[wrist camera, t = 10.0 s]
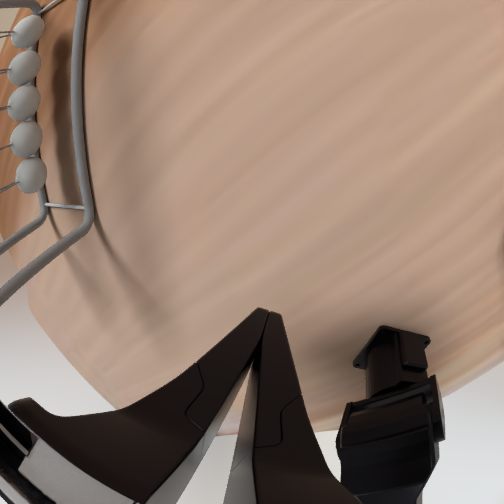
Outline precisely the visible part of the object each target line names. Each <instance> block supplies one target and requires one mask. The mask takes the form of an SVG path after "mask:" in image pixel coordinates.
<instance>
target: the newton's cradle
mask: <svg viewBox="0 0 504 504" xmlns="http://www.w3.org/2000/svg"><path fill="white" fill-rule="evenodd" d="M57 1H59V0H54V1H53V2H52V3H50V4H49V5H47V6H46V7H45V8H43V9H42V10H41V6H40V4H39V3H38V2H37V1H35V0H0V8H15V7H16V8H18V7H27V8H30V9H31V10H32V11H33V15H32V16H28V17H26V18H24V19H22V20H21V21H20V22H19V23H18V24H17V25H16V26H15V28H14V30H13V31H5V32H0V33H11V34H9V35H5V36H1V37H0V38H2V37H7V36H11V40H12V43H13V45H14V46H15V47H17V48H20V49H24V48H28V51H24V52H21V53H20V54H18V55H17V56H16V57H15V58H14V59H13V60H12V62H11V64H10V66H9V68H8V69H2V70H0V71H5V72H1V73H0V74H3V73H7V72H8V78H9V80H10V82H11V83H12V84H14V85H17V86H21V85H24V86H21V87H19V88H18V89H16V90H15V91H14V92H13V94H12V95H11V97H10V99H9V102H8V105H7V106H5V107H1V108H0V111H1V110H4V109H8V113H9V115H10V117H11V118H12V119H13V120H16V121H24V122H22V123H21V124H19V125H18V126H17V127H16V128H15V129H14V131H13V133H12V135H11V139H10V144H9V145H7V146H4V147H2V148H0V150H2V149H4V148H6V147H9V146H10V147H11V149H12V152H13V153H14V154H15V155H16V156H18V157H21V158H26V157H29V156H31V157H29V158H27V159H25V160H23V161H22V162H21V163H20V165H19V166H18V168H17V171H16V181H15V182H13V183H11V184H9V185H7V186H5V187H3V188H1V189H0V190H2V189H4V188H5V189H4V190H2V191H0V193H2V192H3V191H5V190H7V189H8V188H10V187H12V186H14V185H15V184H17V186H18V188H19V189H20V190H21V191H22V192H24V193H29V194H30V193H35V192H37V194H38V198H39V203H40V214H39V216H38V218H36V219H35V220H34V221H32V222H31V223H29V224H28V225H26V226H24V227H23V228H22V229H20V230H19V231H17V232H16V233H14V234H13V235H11V236H10V237H8V238H7V239H6V240H4V241H3V242H2V243H0V255H1V254H2V253H4V252H5V251H6V250H8V249H9V248H10V247H12V246H13V245H14V244H16V243H17V242H19V241H20V240H21V239H23V238H24V237H26V236H27V235H28V234H30V233H31V232H33V231H34V230H36V229H37V228H39V227H40V226H41V225H42V224H43V223H44V221H45V220H46V217H47V214H48V206H52V207H63V208H73V209H82V210H84V219H83V222H82V224H81V225H80V226H79V227H78V228H76V229H75V230H73V231H72V232H70V233H69V234H68V235H66V236H65V237H63V238H62V239H61V240H59V241H58V242H57V243H55V244H54V245H52V246H51V247H50V248H48V249H47V250H46V251H45V252H43V253H42V254H41V255H39V256H38V257H37V258H35V259H34V260H33V261H32V262H30V263H29V264H28V265H27V266H26V267H24V268H23V269H22V270H21V271H20V272H18V273H17V274H16V275H15V276H14V277H13V278H11V279H10V280H9V281H8V282H7V283H6V284H4V285H3V286H2V287H1V288H0V306H1V305H2V304H3V303H4V302H5V301H6V300H7V299H9V297H11V296H12V295H13V294H14V293H15V292H16V291H17V290H18V289H19V288H20V287H21V286H23V285H24V284H25V283H26V282H27V281H28V280H29V279H31V278H32V277H33V276H34V275H35V274H36V273H38V272H39V271H40V270H41V269H42V268H44V267H45V266H46V265H47V264H48V263H50V262H51V261H52V260H53V259H55V258H56V257H57V256H58V255H60V254H61V253H62V252H63V251H65V250H66V249H67V248H69V247H70V246H71V245H73V244H74V243H75V242H77V241H78V240H79V239H81V238H82V237H83V236H85V235H86V234H87V233H88V231H89V230H90V228H91V226H92V223H93V220H94V205H93V200H92V194H91V188H90V182H89V176H88V169H87V161H86V152H85V143H84V131H83V116H82V55H83V41H84V30H85V21H86V14H87V7H88V1H89V0H78V4H77V10H76V17H75V25H74V33H73V44H72V59H71V113H72V129H73V140H74V150H75V158H76V166H77V173H78V179H79V185H80V191H81V197H82V202H83V206H79V205H68V204H56V203H48V202H47V197H46V193H45V188H44V183H45V181H46V178H47V168H46V165H45V163H44V162H43V161H42V160H41V159H40V158H39V151H38V148H39V147H40V145H41V142H42V130H41V128H40V126H39V125H38V124H37V123H36V119H35V112H36V111H37V109H38V107H39V104H40V93H39V91H38V89H37V88H36V87H35V77H36V75H37V74H38V72H39V70H40V66H41V59H40V56H39V55H38V53H36V48H37V41H38V40H39V39H40V37H41V36H42V34H43V31H44V21H43V19H42V18H41V13H42V12H43V11H45V10H46V9H47V8H49V7H50V6H52V5H53V4H54V3H56V2H57ZM6 70H7V71H6ZM25 84H26V85H25ZM25 120H27V121H25ZM10 185H11V186H10ZM8 186H9V187H8ZM6 187H7V188H6Z"/></svg>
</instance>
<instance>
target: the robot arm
mask: <svg viewBox="0 0 504 504" xmlns="http://www.w3.org/2000/svg"><path fill="white" fill-rule="evenodd" d="M382 330H384V331H382ZM430 342H431V340H430V337H428V336H424V335H420V334H416V333H412V332H408V331H404V330H400V329H397V328H393V327H389V326H385V325H383V326H380V327H379V328H378V329H377V331H376V332H375V333H374V335H373V336H372V338H371V339H370V340H369V342H368V343H367V344H366V346H365V347H364V348H363V350H362V351H361V352H360V354H359V355H358V356H357V358H356V359H355V360H354V362H353V366H354V367H356V368H360V369H365V370H366V399H364V400H361V401H357V402H349V403H347V404H346V408H345V411H344V414H343V418H342V421H341V425H340V428H339V431H338V434H337V437H336V449H337V454H338V457H339V459H340V461H341V482H339V481H338V480H337V479H336V478H335V477H334V476H333V474H332V473H331V471H330V470H329V468H328V466H327V464H326V462H325V459H324V456H323V454H322V451H321V449H320V447H319V444H318V442H317V439H316V437H315V434H314V432H313V429H312V426H311V424H310V421H309V418H308V415H307V411H306V408H305V404H304V400H303V396H302V395H301V394H302V393H301V389H300V385H299V381H298V377H297V373H296V369H295V365H294V361H293V358H292V354H291V350H290V346H289V342H288V338H287V335H286V331H285V327H284V323H283V319H282V316H281V314H279V313H276V312H272V311H270V312H269V311H268V310H266V309H263V308H256V309H255V310H254V311H253V312H252V313H251V314H250V315H249V316H248V317H247V318H245V319H244V320H243V321H242V322H241V323H240V324H239V325H238V326H237V327H235V328H234V329H233V330H232V331H231V332H230V333H229V334H228V335H226V336H225V337H224V338H223V339H222V340H221V341H220V342H218V343H217V344H216V345H215V346H214V347H213V348H212V349H210V350H209V351H208V352H207V353H206V354H205V355H203V356H202V357H201V358H200V359H199V360H198V361H197V363H194V364H193V365H192V366H190V367H189V368H188V369H187V370H185V371H184V372H183V373H182V374H180V375H179V376H178V377H176V378H175V379H173V380H172V381H170V382H169V383H167V384H166V385H164V386H163V387H161V388H159V389H158V390H156V391H154V392H153V393H151V394H149V395H147V396H146V397H144V398H142V399H141V400H139V401H137V402H135V403H133V404H132V405H130V406H127V407H125V408H122V409H119V410H115V411H109V412H103V413H96V414H88V415H80V416H70V417H62V416H56V415H53V414H51V413H49V412H48V411H46V410H45V409H44V408H43V407H41V406H40V405H39V404H38V403H37V402H35V401H34V400H33V399H32V398H30V397H28V398H24V399H19V400H16V401H14V402H12V403H10V404H9V405H8V408H9V409H10V410H11V411H10V410H9V409H8V408H7V407H6V406H5V405H4V404H3V402H2V401H1V400H0V496H1V497H2V498H3V499H4V500H5V501H6V502H7V503H8V504H176V502H177V501H178V499H179V498H180V496H181V495H182V493H183V491H184V490H185V488H186V486H187V485H188V483H189V481H190V480H191V478H192V476H193V474H194V473H195V471H196V469H197V467H198V466H199V464H200V462H201V460H202V459H203V457H204V455H205V454H206V452H207V450H208V448H209V446H210V445H211V443H212V441H213V439H214V437H215V435H216V434H217V432H218V430H219V428H220V426H221V424H222V422H223V421H224V419H225V417H226V415H227V413H228V411H229V409H230V407H231V405H232V403H233V402H234V400H235V398H236V396H237V394H238V392H239V390H240V388H241V386H242V384H243V382H244V380H245V378H246V376H247V374H248V372H249V370H250V367H251V370H250V375H249V380H248V385H247V391H246V396H245V401H244V406H243V411H242V416H241V422H240V427H239V432H238V437H237V442H236V447H235V452H234V456H233V462H232V466H231V470H230V475H229V480H228V484H227V489H226V494H225V498H224V503H223V504H422V491H423V488H424V487H425V485H426V483H427V481H428V479H429V478H430V476H431V474H432V472H433V470H434V468H435V466H436V464H437V462H438V460H439V443H438V442H440V441H443V440H445V419H444V410H443V404H442V398H441V393H440V390H439V386H438V383H437V379H436V376H435V375H432V376H430V378H428V376H427V371H426V369H427V368H428V364H427V360H426V355H425V351H424V349H425V348H426V347H427V346H428V345H429V344H430ZM252 362H253V363H252ZM251 365H252V366H251ZM29 429H30V430H31V431H32V432H31V431H30V430H29Z"/></svg>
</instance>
